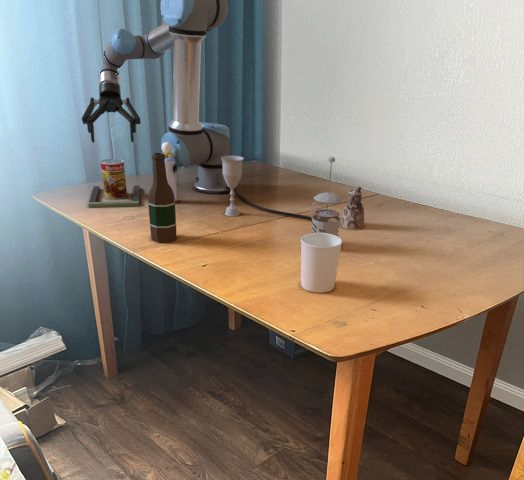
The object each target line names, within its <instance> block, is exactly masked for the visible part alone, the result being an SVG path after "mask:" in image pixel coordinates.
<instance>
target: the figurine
mask: <svg viewBox="0 0 524 480" xmlns="http://www.w3.org/2000/svg"><path fill="white" fill-rule="evenodd" d="M361 190H362V186H358V187H357V188H356V187H353V188H351V189H350V191H349V192H348V195H347V201H346V203H345V205H344V207H343V212H342V216H341V221H340V223H341V226H342V228H344V229H348V230H360V229H362V228H364V224H365V207H364V204H363V203H362V198H363V197H362V196H363V195H362V191H361Z"/></svg>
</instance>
